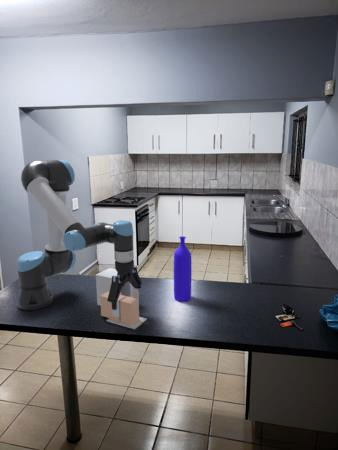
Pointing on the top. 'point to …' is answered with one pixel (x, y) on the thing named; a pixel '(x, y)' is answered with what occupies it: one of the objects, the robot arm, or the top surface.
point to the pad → (127, 323)
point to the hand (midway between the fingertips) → (126, 309)
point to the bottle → (182, 272)
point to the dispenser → (109, 284)
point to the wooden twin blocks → (121, 308)
